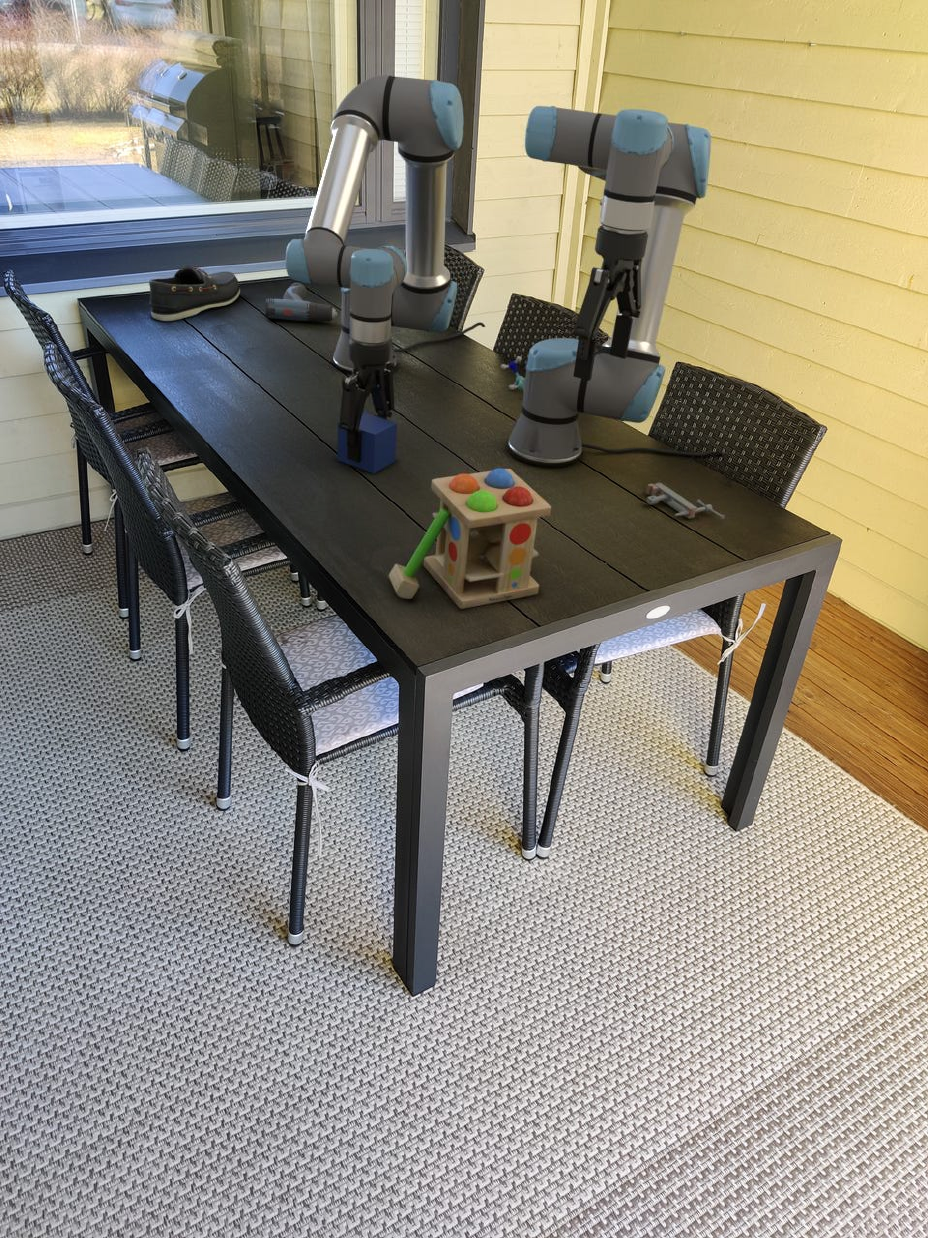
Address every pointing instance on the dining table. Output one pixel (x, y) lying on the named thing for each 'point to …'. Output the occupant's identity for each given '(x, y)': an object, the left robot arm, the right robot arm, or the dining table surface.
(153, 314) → the boat shoe
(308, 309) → the power drill
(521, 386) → the molecular model
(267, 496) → the dining table surface
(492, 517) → the pounding bench toy
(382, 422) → the brick
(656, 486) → the clamp
